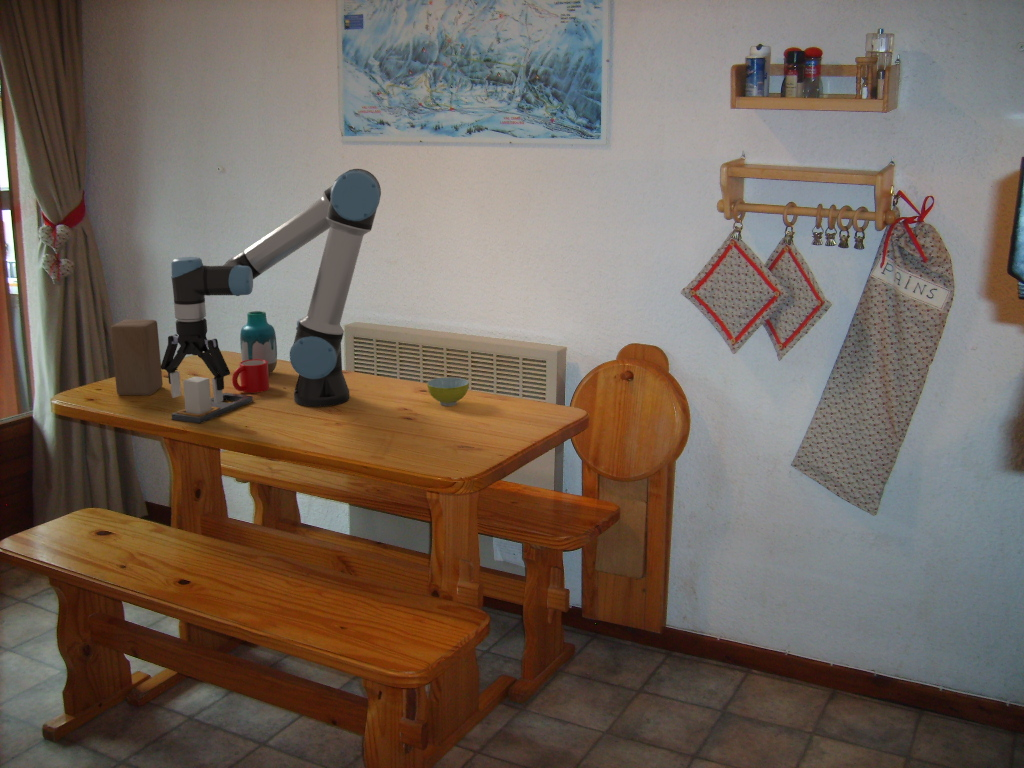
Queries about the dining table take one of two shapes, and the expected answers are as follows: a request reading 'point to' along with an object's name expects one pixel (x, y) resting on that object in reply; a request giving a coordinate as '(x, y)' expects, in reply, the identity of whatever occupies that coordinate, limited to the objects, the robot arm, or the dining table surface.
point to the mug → (252, 376)
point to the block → (136, 357)
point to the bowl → (448, 390)
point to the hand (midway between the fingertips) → (197, 399)
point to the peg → (197, 395)
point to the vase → (259, 340)
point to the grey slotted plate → (214, 408)
